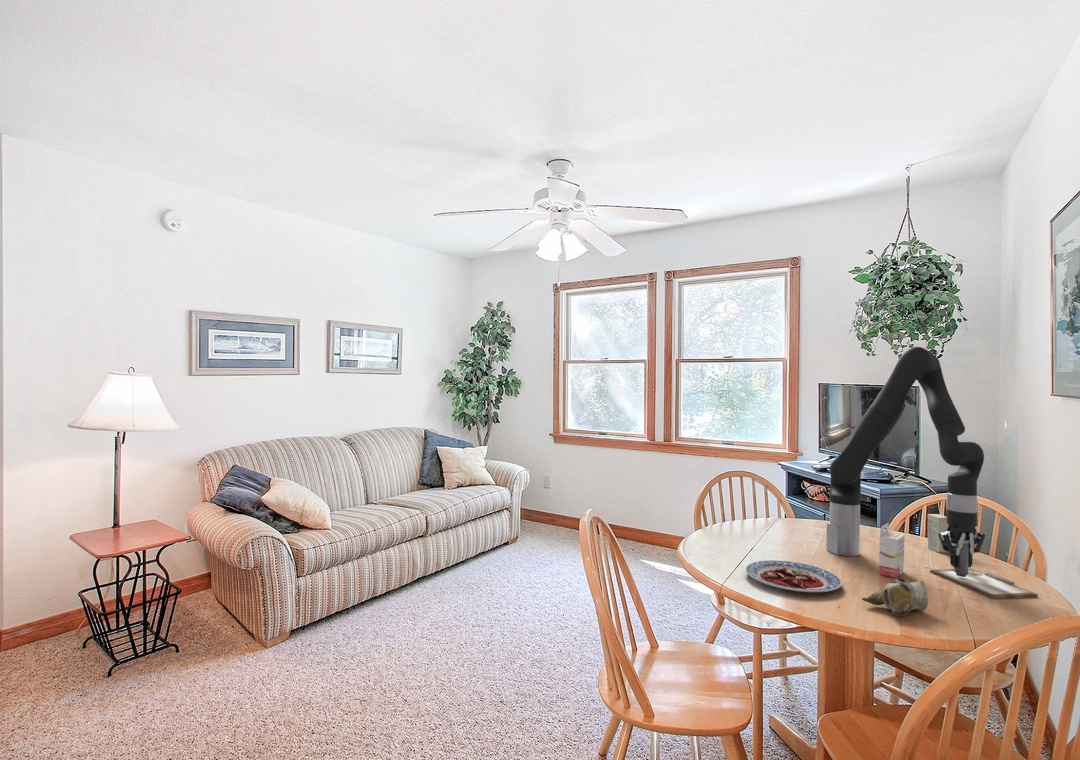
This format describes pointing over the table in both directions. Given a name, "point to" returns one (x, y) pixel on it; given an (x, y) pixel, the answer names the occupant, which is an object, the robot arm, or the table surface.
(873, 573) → the table surface
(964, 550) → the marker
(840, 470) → the robot arm
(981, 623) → the table surface
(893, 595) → the ceramic sculpture
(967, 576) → the clipboard
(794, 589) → the ceramic plate
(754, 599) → the table surface
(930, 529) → the skincare box
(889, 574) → the ink cartridge box
